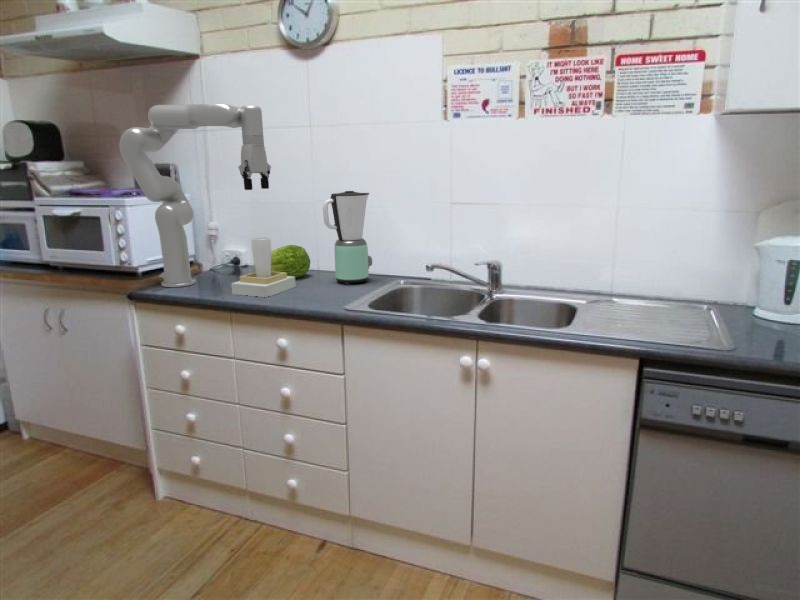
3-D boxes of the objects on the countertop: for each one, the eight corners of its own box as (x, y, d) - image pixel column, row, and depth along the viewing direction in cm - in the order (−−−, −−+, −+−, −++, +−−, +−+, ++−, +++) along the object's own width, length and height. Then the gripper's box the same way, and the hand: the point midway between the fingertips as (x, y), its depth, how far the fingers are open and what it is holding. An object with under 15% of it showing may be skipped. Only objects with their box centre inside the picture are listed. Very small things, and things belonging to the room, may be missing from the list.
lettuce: (269, 273, 234) (259, 244, 229) (318, 269, 225) (309, 238, 220) (250, 288, 221) (240, 257, 216) (301, 283, 212) (291, 251, 207)
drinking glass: (268, 280, 194) (265, 239, 190) (251, 280, 195) (247, 239, 192) (276, 277, 200) (273, 237, 197) (259, 276, 202) (256, 236, 198)
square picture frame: (232, 294, 193) (230, 277, 192) (265, 283, 210) (264, 268, 209) (266, 297, 187) (264, 280, 186) (297, 286, 204) (296, 270, 203)
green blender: (363, 276, 221) (360, 189, 212) (379, 282, 209) (376, 191, 201) (320, 281, 211) (316, 191, 203) (334, 288, 200) (330, 193, 191)
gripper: (259, 142, 205) (263, 188, 209) (229, 141, 190) (233, 190, 194) (276, 141, 202) (279, 188, 206) (246, 140, 187) (250, 190, 191)
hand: (257, 189), depth 200 cm, fingers open, 9 cm apart
